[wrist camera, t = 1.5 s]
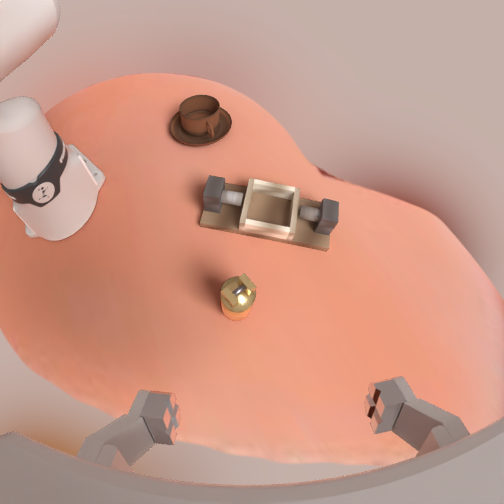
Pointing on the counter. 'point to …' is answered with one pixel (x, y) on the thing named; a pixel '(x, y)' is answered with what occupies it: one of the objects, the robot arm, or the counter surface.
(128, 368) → the counter surface
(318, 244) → the shaft stand
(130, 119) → the counter surface
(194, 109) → the cup and saucer
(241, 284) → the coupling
